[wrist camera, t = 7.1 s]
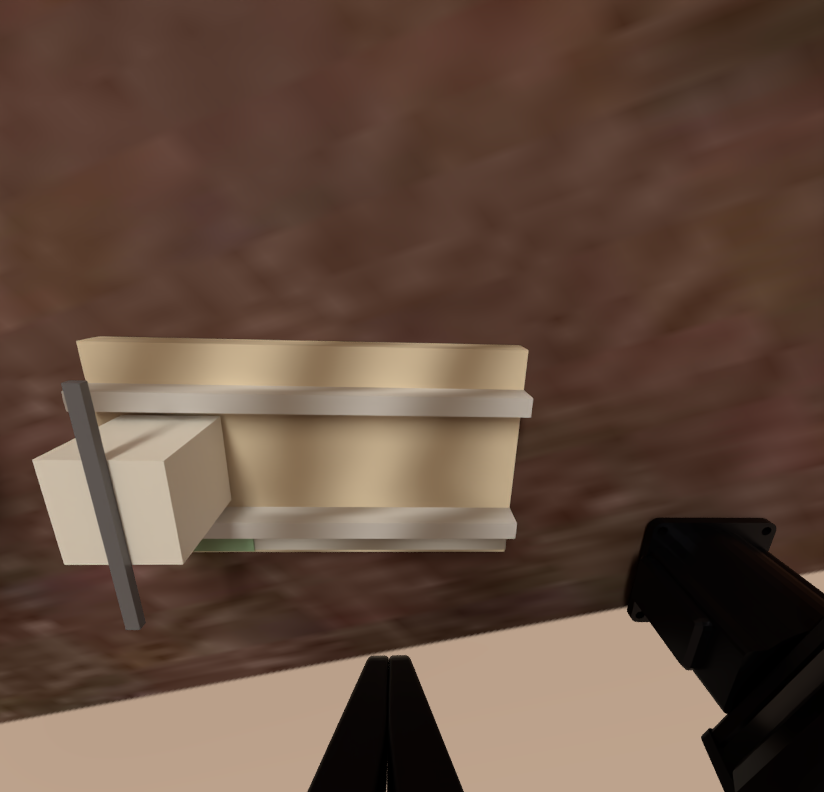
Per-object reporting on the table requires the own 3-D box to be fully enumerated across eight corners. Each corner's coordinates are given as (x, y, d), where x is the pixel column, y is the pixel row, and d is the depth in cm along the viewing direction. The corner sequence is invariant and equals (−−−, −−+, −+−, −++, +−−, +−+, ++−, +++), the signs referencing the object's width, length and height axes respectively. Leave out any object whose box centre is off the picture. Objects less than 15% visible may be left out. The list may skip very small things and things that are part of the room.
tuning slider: (211, 354, 15) (142, 384, 11) (237, 547, 18) (189, 629, 14) (107, 352, 15) (-3, 382, 11) (150, 548, 18) (75, 630, 14)
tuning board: (519, 345, 17) (538, 356, 14) (497, 535, 20) (511, 569, 17) (99, 336, 16) (49, 346, 14) (143, 535, 19) (108, 571, 17)
